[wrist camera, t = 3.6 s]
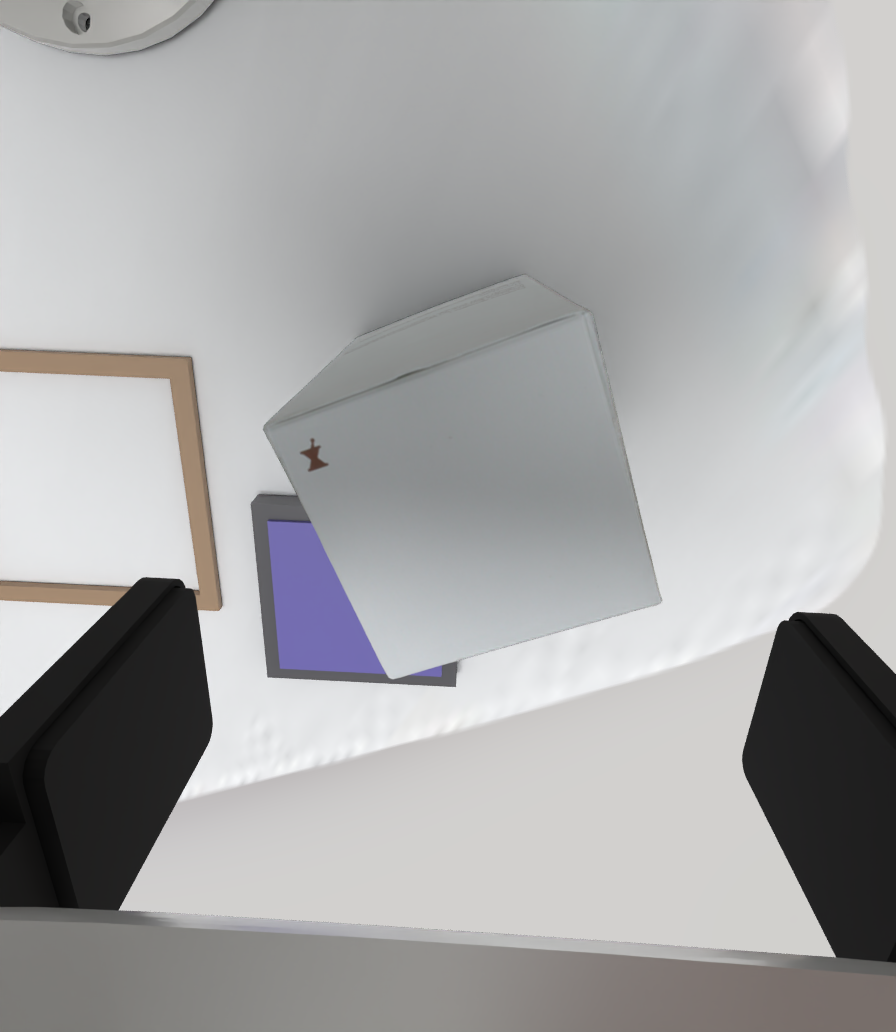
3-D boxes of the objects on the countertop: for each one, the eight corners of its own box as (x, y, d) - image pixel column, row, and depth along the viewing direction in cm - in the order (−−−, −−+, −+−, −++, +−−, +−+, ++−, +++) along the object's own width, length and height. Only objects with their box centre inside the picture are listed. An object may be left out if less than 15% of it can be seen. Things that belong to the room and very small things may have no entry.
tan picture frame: (-95, 345, 26) (-103, 346, 25) (191, 357, 26) (186, 359, 25) (-20, 594, 30) (-26, 598, 30) (222, 606, 30) (219, 610, 30)
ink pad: (258, 494, 28) (249, 505, 27) (464, 504, 28) (464, 515, 27) (273, 664, 31) (266, 679, 30) (456, 673, 31) (455, 689, 30)
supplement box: (418, 500, 28) (378, 690, 16) (351, 334, 25) (247, 420, 13) (584, 448, 27) (671, 613, 15) (533, 267, 24) (591, 298, 12)
